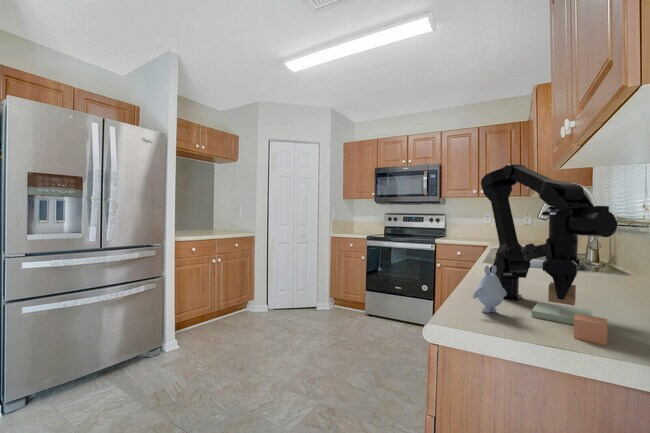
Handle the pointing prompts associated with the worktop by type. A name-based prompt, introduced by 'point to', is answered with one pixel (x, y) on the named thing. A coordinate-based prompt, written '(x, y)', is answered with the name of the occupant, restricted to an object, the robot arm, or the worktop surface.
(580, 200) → the robot arm
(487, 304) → the toy figure
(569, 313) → the base plate
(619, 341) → the worktop surface
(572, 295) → the walnut brick
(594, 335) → the terracotta brick
